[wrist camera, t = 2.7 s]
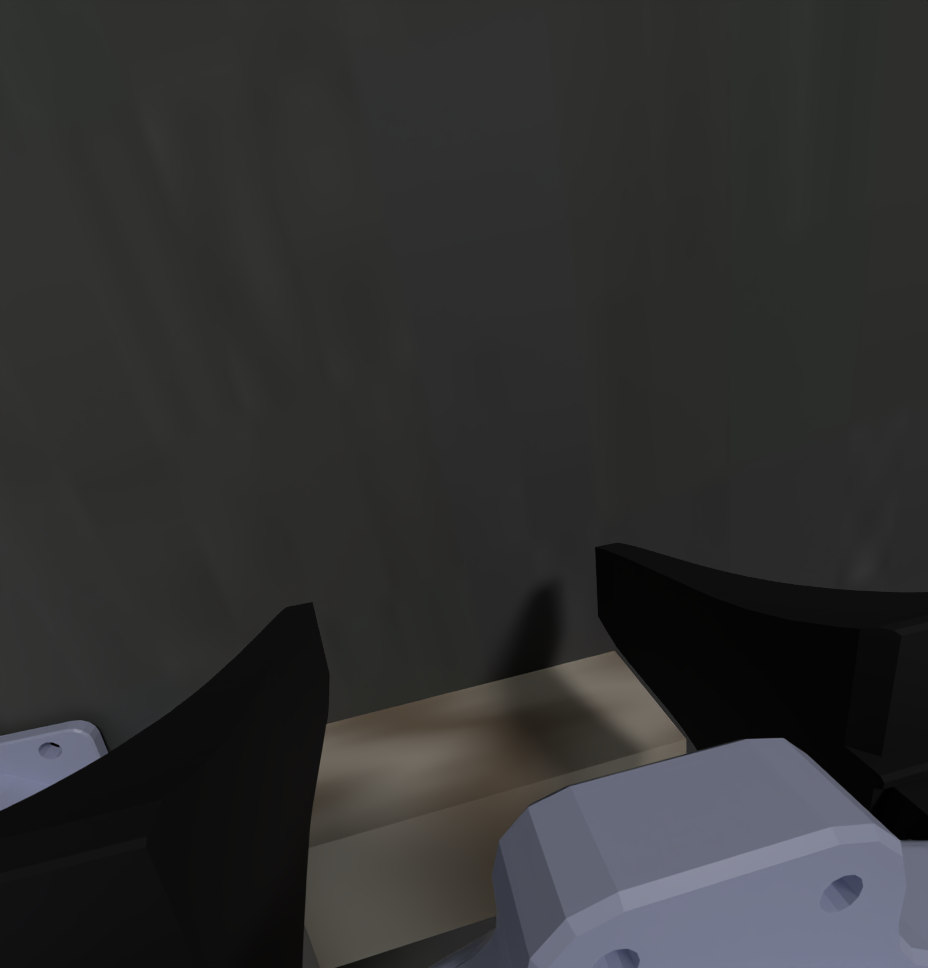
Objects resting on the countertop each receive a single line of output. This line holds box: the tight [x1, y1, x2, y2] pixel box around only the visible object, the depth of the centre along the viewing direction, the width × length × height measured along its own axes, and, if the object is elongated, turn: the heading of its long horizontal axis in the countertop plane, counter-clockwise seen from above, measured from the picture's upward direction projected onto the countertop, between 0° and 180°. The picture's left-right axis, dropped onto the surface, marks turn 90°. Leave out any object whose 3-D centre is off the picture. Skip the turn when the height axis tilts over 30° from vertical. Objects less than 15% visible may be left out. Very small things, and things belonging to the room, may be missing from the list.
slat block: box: [304, 651, 686, 968], centre depth 14 cm, size 10×4×4 cm, turn 99°
